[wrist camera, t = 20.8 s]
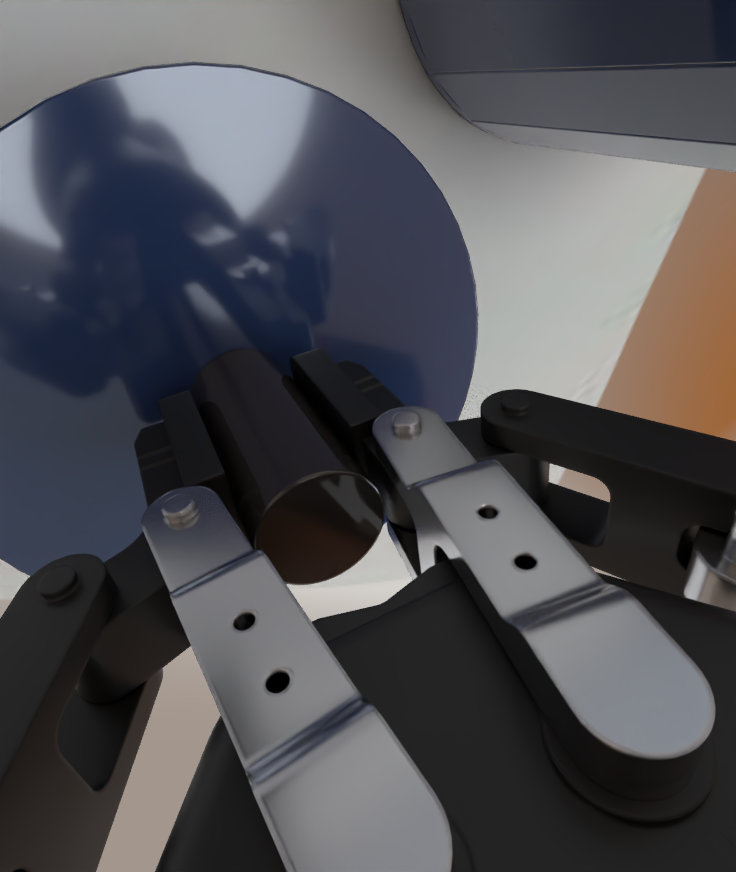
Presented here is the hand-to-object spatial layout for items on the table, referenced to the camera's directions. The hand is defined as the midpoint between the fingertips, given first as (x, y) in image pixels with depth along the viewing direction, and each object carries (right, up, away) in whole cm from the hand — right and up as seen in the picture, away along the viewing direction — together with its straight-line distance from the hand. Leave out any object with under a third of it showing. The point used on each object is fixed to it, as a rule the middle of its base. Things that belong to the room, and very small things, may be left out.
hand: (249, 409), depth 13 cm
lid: (0, +1, +1) cm, 1 cm away
